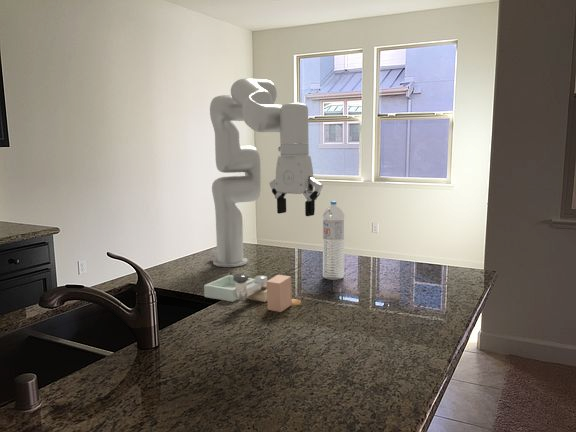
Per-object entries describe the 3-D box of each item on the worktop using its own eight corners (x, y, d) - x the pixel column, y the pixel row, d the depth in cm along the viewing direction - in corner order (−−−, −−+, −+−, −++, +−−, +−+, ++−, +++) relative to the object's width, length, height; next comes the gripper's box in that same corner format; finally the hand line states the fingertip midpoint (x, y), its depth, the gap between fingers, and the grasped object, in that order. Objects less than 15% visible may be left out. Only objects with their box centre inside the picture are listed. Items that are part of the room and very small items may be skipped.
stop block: (267, 310, 131) (266, 281, 129) (279, 302, 136) (278, 274, 134) (280, 312, 129) (279, 283, 127) (292, 304, 134) (290, 276, 132)
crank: (258, 284, 143) (258, 264, 142) (270, 286, 141) (270, 266, 140) (230, 298, 131) (230, 276, 130) (243, 300, 129) (242, 278, 128)
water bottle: (344, 280, 157) (345, 202, 153) (323, 280, 157) (323, 202, 153) (342, 274, 163) (343, 199, 159) (322, 274, 164) (322, 200, 160)
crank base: (246, 299, 140) (246, 289, 139) (258, 293, 145) (258, 284, 144) (294, 307, 132) (294, 297, 132) (305, 301, 137) (305, 291, 137)
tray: (204, 296, 142) (204, 285, 141) (229, 285, 152) (228, 274, 152) (232, 302, 137) (232, 290, 137) (256, 290, 147) (255, 279, 147)
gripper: (261, 151, 133) (262, 213, 136) (312, 150, 123) (313, 218, 125) (278, 150, 139) (280, 210, 142) (329, 150, 128) (329, 215, 131)
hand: (295, 214), depth 133 cm, fingers open, 9 cm apart
